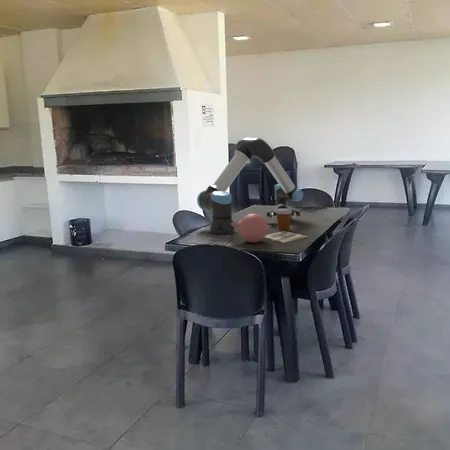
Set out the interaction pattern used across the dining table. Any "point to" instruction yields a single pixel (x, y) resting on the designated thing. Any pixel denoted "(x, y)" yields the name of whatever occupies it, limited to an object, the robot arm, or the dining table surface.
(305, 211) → the dining table surface
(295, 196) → the robot arm
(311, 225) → the dining table surface
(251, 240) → the balloon
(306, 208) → the dining table surface
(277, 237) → the board
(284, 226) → the disposable coffee cup
